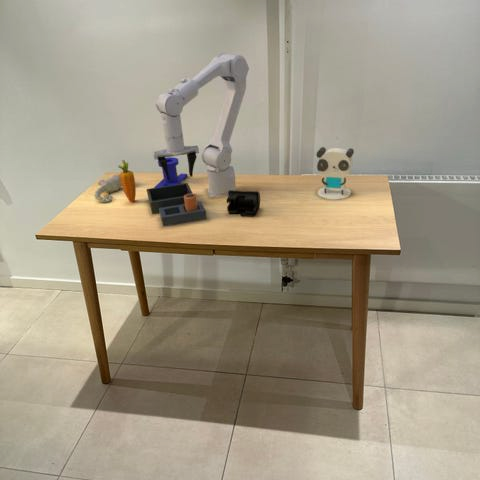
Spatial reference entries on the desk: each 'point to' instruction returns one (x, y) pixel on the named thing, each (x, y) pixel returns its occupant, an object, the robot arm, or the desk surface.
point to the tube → (190, 202)
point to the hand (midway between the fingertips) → (179, 177)
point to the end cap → (243, 202)
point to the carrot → (127, 182)
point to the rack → (181, 214)
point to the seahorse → (108, 187)
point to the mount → (171, 173)
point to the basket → (167, 196)
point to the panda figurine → (334, 172)
